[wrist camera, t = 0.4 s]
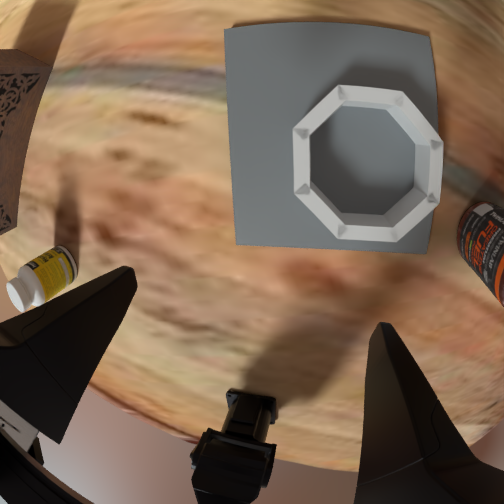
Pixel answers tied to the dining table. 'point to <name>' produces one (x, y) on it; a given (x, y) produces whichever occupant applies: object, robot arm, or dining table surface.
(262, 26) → the collar mount
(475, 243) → the supplement bottle
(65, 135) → the dining table surface
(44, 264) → the supplement bottle
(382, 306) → the dining table surface
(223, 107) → the dining table surface
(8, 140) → the tissue box cover
